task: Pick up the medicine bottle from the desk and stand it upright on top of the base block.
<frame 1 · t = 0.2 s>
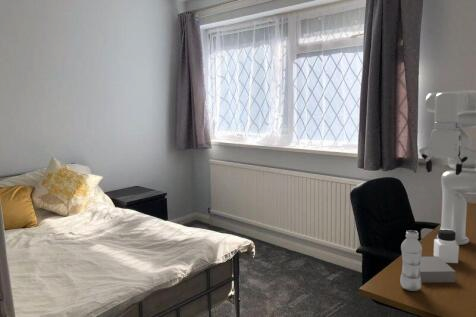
hand: (443, 173, 143), 36 cm above the table, tool pointing down, fingers open, 9 cm apart
base block: (429, 274, 141), on the table
plastic bottle: (410, 289, 131), on the table
medicine bottle: (445, 259, 154), on the table
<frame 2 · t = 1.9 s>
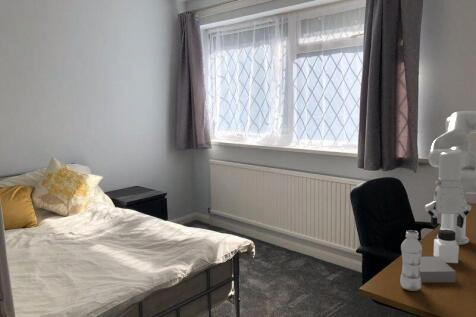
hand: (446, 226, 151), 14 cm above the table, tool pointing down, fingers open, 9 cm apart
nothing on the table moved.
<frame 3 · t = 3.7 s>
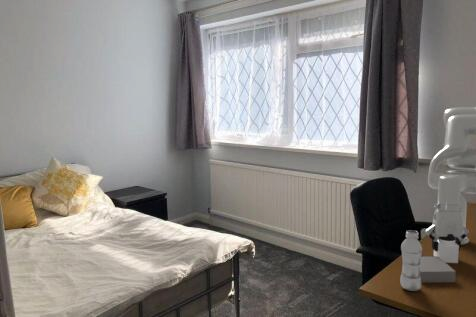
hand: (446, 249, 153), 4 cm above the table, tool pointing down, fingers closed on medicine bottle, 7 cm apart
medicine bottle: (445, 259, 154), on the table, touching gripper
everything else where it was.
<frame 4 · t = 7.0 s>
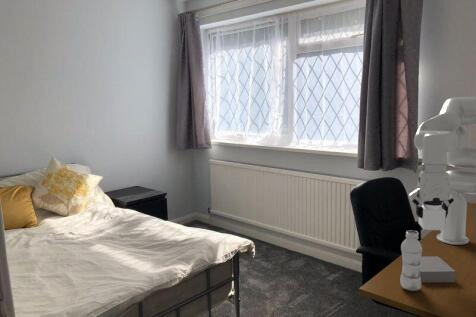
hand: (431, 216, 138), 22 cm above the table, tool pointing down, fingers closed on medicine bottle, 7 cm apart
medicine bottle: (431, 227, 139), point 18 cm above the table, touching gripper
everything else where it was.
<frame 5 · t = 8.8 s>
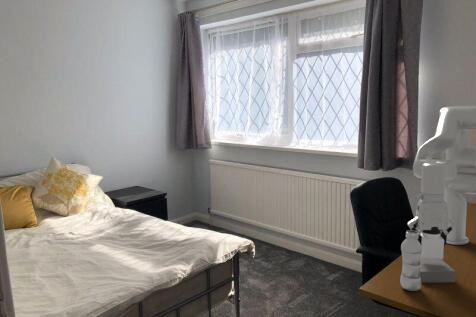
hand: (430, 244, 140), 11 cm above the table, tool pointing down, fingers closed on medicine bottle, 7 cm apart
medicine bottle: (429, 255, 140), point 7 cm above the table, touching gripper
everything else where it was.
when the fingers open (9 cm above the table, at t = 10.4 s): medicine bottle stays where it is, resting on base block.
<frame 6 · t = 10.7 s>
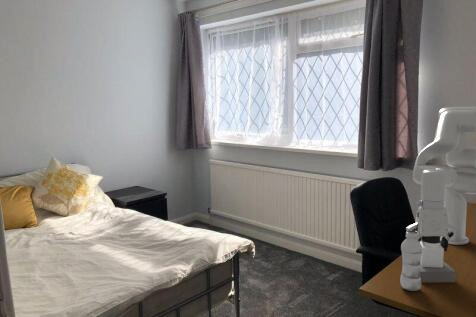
hand: (430, 249, 140), 9 cm above the table, tool pointing down, fingers open, 9 cm apart
medicine bottle: (429, 264, 141), point 4 cm above the table, touching base block
everything else where it was.
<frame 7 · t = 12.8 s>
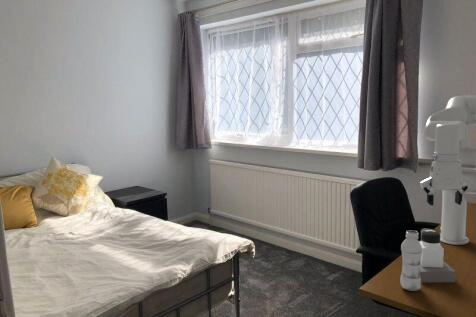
hand: (444, 204, 141), 25 cm above the table, tool pointing down, fingers open, 9 cm apart
nothing on the table moved.
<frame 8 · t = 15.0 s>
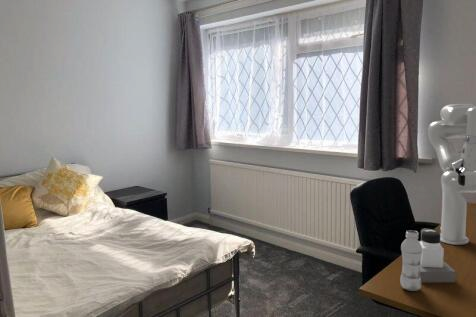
hand: (474, 184, 148), 30 cm above the table, tool pointing down, fingers open, 9 cm apart
nothing on the table moved.
at the end: medicine bottle inside the target area on the base block (0.1 cm from its centre), point 3.8 cm above the base block's base; medicine bottle tilted 0°; the gripper is holding nothing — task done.
